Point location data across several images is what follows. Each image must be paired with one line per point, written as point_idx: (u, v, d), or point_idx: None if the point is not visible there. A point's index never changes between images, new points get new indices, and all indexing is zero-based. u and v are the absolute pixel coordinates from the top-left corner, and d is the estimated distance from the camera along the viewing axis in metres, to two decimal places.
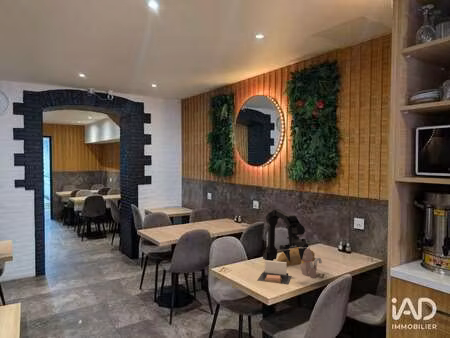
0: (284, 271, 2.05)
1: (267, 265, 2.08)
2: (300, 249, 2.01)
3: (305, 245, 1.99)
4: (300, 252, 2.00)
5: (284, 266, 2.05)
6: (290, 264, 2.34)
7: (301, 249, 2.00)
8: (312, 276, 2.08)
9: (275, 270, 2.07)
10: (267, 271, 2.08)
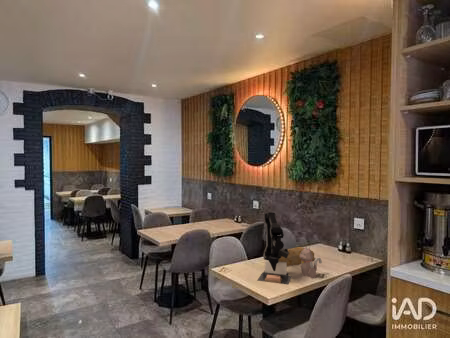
0: (284, 271, 2.05)
1: (267, 265, 2.08)
2: None
3: None
4: None
5: (284, 266, 2.05)
6: (290, 264, 2.33)
7: (277, 257, 2.12)
8: (312, 276, 2.08)
9: (275, 270, 2.07)
10: (267, 271, 2.08)
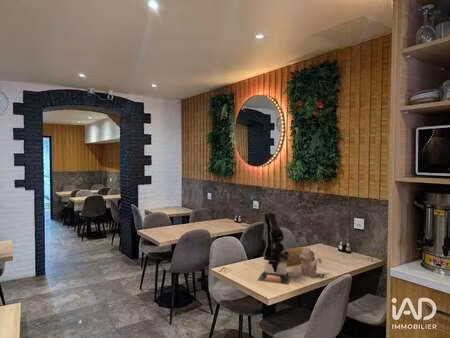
0: (284, 271, 2.05)
1: (267, 265, 2.08)
2: None
3: None
4: None
5: (284, 266, 2.05)
6: (290, 264, 2.33)
7: None
8: (312, 276, 2.08)
9: None
10: (267, 271, 2.08)
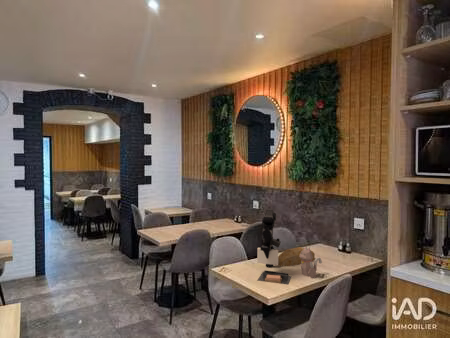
0: (276, 258, 2.09)
1: (259, 252, 2.13)
2: None
3: None
4: None
5: (276, 253, 2.09)
6: (290, 264, 2.33)
7: None
8: (312, 276, 2.08)
9: None
10: (259, 258, 2.13)
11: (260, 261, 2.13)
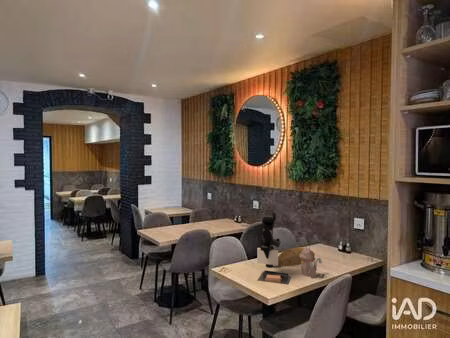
0: (276, 258, 2.09)
1: (259, 252, 2.13)
2: None
3: None
4: None
5: (276, 253, 2.09)
6: (289, 264, 2.33)
7: None
8: (312, 276, 2.08)
9: None
10: (259, 258, 2.13)
11: (260, 261, 2.13)
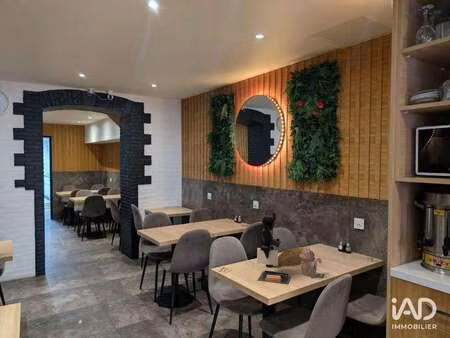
0: (276, 258, 2.09)
1: (259, 253, 2.13)
2: None
3: None
4: None
5: (276, 253, 2.09)
6: (290, 264, 2.33)
7: None
8: (312, 276, 2.08)
9: None
10: (259, 259, 2.13)
11: (260, 261, 2.13)
